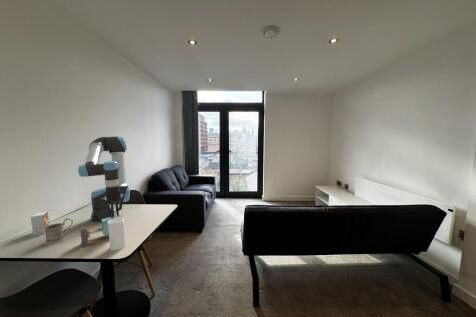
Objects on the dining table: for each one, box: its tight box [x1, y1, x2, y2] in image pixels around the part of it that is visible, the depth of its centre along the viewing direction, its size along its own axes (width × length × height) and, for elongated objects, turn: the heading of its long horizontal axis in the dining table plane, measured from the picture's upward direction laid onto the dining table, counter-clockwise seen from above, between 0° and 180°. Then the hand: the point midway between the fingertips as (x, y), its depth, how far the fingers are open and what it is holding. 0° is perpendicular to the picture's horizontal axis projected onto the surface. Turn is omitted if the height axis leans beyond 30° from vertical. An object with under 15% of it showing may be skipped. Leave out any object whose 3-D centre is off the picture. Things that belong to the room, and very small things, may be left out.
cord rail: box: [79, 226, 109, 248], centre depth 126 cm, size 7×19×10 cm, turn 130°
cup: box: [108, 217, 127, 251], centre depth 118 cm, size 8×8×16 cm
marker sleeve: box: [101, 217, 112, 237], centre depth 129 cm, size 7×5×9 cm
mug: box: [44, 217, 74, 246], centre depth 128 cm, size 14×10×12 cm
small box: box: [30, 211, 50, 237], centre depth 139 cm, size 8×6×13 cm
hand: (115, 221), depth 132 cm, fingers closed
